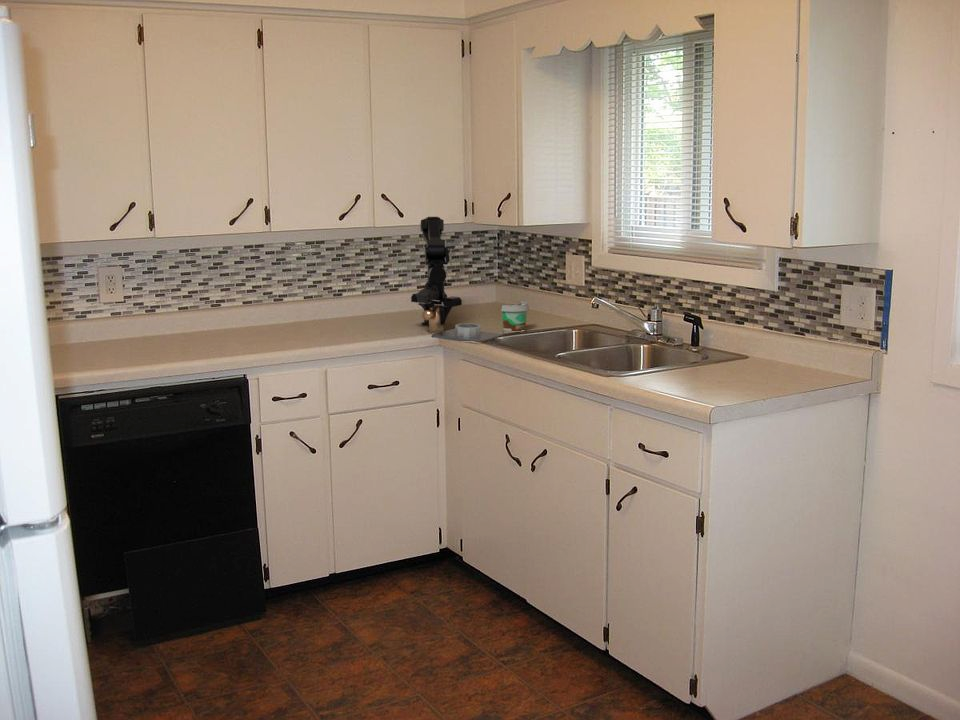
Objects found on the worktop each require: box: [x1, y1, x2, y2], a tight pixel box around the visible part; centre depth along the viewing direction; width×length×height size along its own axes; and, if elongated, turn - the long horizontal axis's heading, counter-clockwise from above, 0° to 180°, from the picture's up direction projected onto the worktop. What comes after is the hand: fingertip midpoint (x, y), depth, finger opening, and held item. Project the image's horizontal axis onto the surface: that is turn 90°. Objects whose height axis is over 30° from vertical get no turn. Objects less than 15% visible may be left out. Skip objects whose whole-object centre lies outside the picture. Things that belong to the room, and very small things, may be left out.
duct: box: [431, 322, 505, 342], centre depth 342 cm, size 20×15×4 cm
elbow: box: [421, 306, 444, 334], centre depth 348 cm, size 5×8×9 cm, turn 144°
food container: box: [500, 301, 530, 332], centre depth 352 cm, size 12×6×10 cm, turn 143°
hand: (436, 323), depth 350 cm, fingers closed on elbow, 5 cm apart
